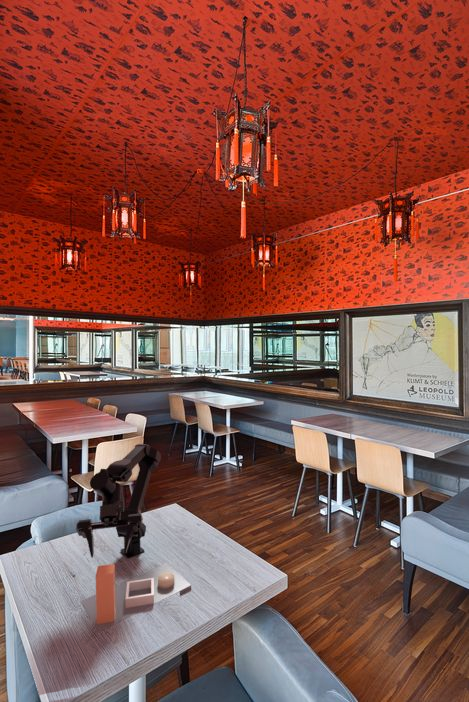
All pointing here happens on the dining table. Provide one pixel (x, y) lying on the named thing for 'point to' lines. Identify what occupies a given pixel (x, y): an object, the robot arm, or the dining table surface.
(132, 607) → the board
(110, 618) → the orange square prism
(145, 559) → the dining table surface
